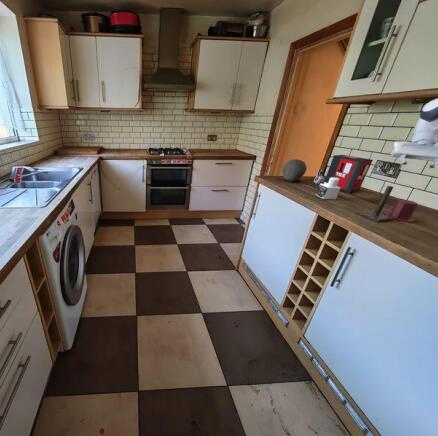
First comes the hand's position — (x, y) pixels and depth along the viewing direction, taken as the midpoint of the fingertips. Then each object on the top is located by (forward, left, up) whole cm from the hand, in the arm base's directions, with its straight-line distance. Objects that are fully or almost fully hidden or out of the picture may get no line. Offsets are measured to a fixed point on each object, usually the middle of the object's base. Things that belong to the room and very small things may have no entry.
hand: (417, 165), depth 107 cm
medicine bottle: (+21, +21, -23) cm, 37 cm away
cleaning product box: (+34, -5, -23) cm, 41 cm away
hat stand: (-6, +22, -23) cm, 32 cm away
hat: (-8, +10, -23) cm, 26 cm away
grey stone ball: (+54, +15, -23) cm, 60 cm away
